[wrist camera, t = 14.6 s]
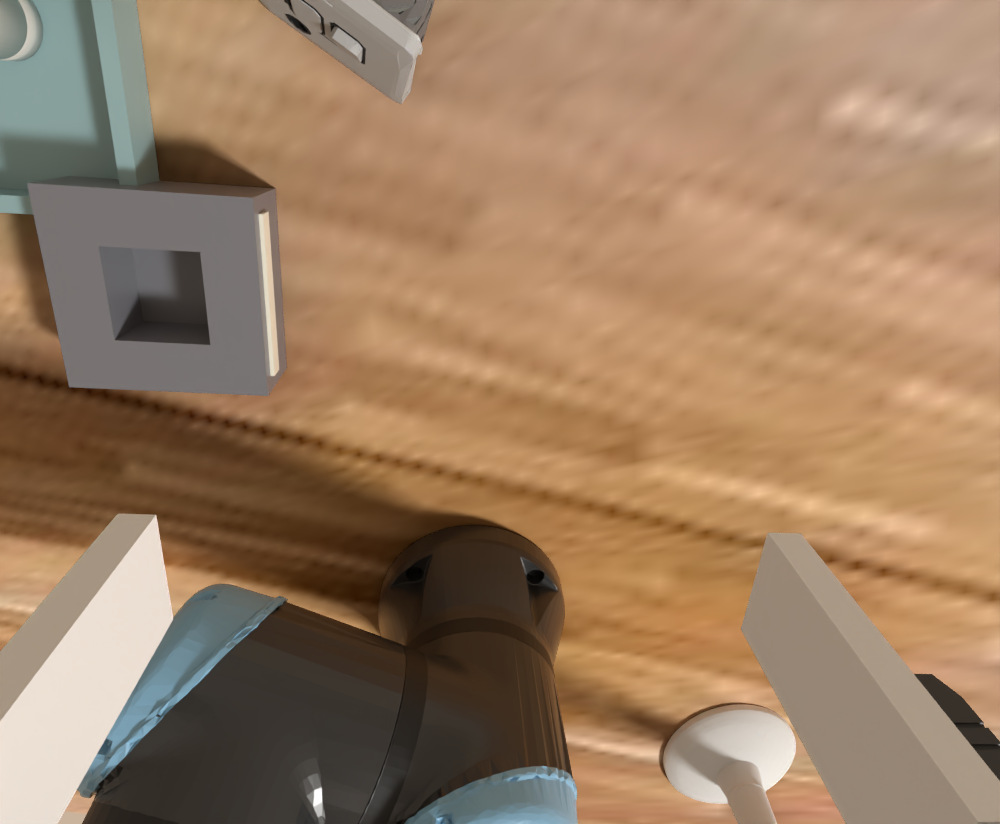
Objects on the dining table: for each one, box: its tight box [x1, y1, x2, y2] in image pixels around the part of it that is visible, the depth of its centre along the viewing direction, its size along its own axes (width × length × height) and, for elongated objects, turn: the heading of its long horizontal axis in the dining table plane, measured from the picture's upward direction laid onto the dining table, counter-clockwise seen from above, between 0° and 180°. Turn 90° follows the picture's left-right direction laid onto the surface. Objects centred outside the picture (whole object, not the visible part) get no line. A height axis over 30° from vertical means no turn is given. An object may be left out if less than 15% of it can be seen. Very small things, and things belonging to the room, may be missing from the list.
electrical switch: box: [260, 0, 434, 104], centre depth 34 cm, size 9×5×9 cm, turn 55°
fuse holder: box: [27, 176, 287, 396], centre depth 42 cm, size 12×12×5 cm
